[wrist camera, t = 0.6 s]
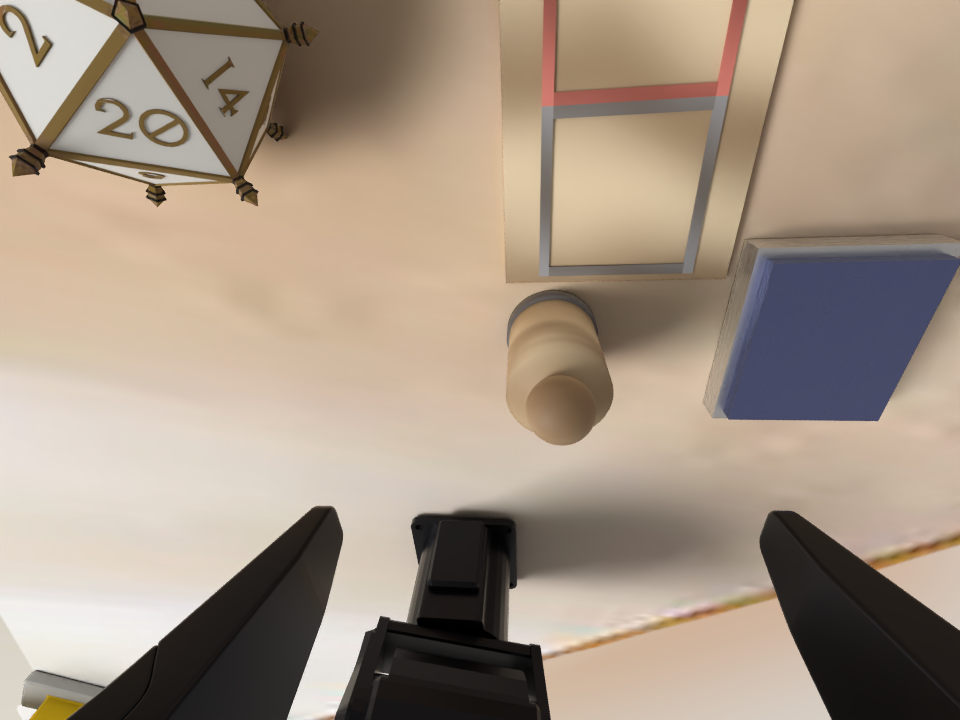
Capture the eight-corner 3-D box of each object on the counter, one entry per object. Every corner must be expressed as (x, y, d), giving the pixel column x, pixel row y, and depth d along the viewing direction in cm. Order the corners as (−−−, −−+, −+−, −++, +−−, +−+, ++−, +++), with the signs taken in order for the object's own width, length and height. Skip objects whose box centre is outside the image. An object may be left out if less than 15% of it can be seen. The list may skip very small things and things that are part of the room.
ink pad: (857, 403, 21) (884, 428, 19) (703, 402, 21) (717, 426, 20) (938, 234, 17) (981, 247, 15) (744, 239, 17) (766, 253, 16)
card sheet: (723, 276, 18) (726, 279, 18) (506, 280, 19) (506, 283, 19) (836, -195, 12) (845, -205, 11) (496, -155, 12) (495, -162, 12)
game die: (308, 39, 18) (405, -32, 11) (242, 231, 20) (286, 287, 12) (1, -178, 13) (-256, -657, 5) (-63, 113, 14) (-342, 82, 6)
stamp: (591, 367, 21) (620, 479, 15) (508, 367, 21) (502, 476, 15) (598, 289, 19) (635, 380, 13) (506, 290, 19) (498, 380, 13)
